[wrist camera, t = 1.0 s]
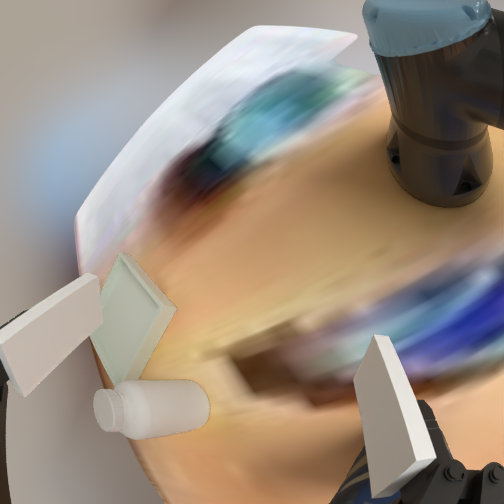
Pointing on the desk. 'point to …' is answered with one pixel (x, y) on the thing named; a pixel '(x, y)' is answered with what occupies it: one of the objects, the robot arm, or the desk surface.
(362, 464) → the canister
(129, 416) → the pill bottle
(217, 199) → the desk surface
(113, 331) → the tray
